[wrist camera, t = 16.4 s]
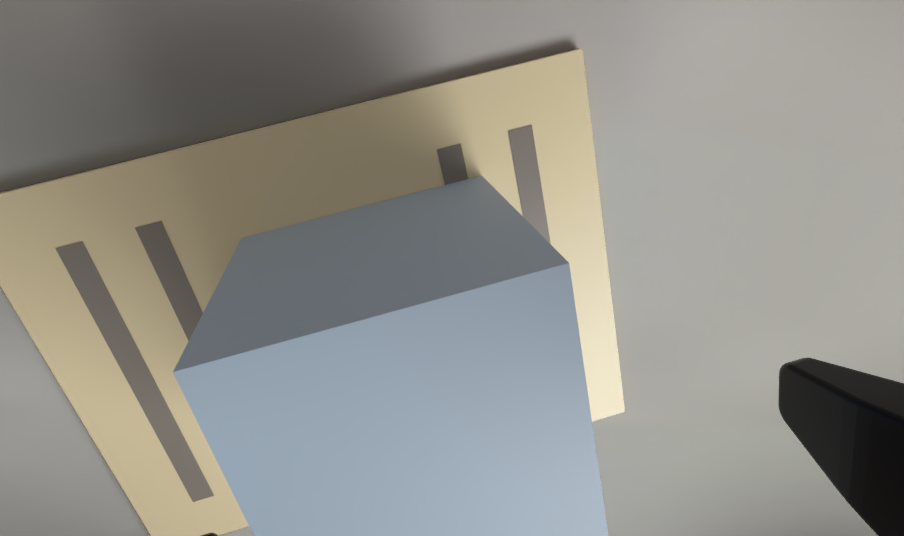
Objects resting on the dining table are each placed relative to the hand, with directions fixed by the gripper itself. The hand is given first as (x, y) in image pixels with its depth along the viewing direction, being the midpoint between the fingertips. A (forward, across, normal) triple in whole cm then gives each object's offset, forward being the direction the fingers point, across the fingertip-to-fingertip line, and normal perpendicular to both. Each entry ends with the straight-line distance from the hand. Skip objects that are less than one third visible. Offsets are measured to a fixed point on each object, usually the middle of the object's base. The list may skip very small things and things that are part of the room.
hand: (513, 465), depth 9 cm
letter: (+5, +2, -1) cm, 5 cm away
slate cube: (+5, +1, -1) cm, 5 cm away
